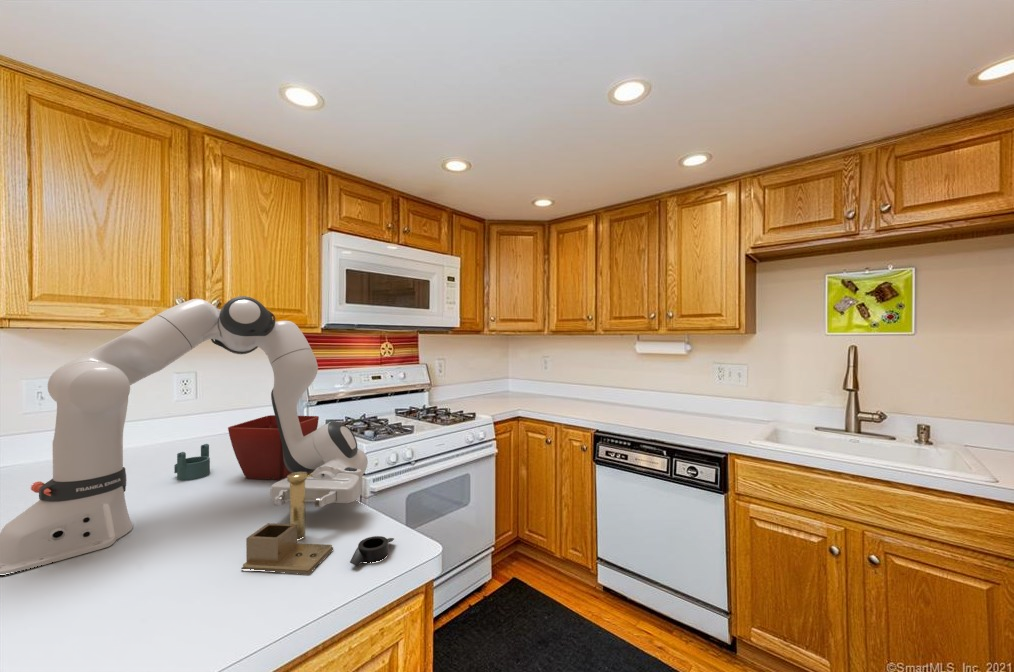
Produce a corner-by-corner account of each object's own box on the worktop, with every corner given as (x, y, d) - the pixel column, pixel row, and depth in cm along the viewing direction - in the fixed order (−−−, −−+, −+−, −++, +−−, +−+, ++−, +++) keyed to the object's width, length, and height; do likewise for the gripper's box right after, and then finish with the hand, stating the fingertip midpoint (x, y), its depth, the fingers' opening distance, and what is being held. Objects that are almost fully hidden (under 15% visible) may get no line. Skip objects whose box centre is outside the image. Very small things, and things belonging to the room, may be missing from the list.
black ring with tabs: (343, 555, 86) (343, 541, 86) (392, 542, 92) (392, 529, 92) (351, 573, 80) (351, 558, 80) (403, 559, 85) (403, 544, 85)
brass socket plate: (309, 574, 79) (309, 544, 79) (241, 571, 80) (241, 541, 80) (333, 550, 88) (333, 523, 88) (271, 547, 89) (271, 520, 89)
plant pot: (226, 482, 128) (225, 426, 128) (269, 462, 147) (269, 414, 147) (283, 485, 125) (283, 428, 125) (320, 465, 144) (320, 416, 144)
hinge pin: (294, 543, 91) (294, 479, 90) (283, 539, 93) (283, 475, 92) (311, 536, 94) (311, 473, 94) (300, 531, 96) (300, 470, 96)
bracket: (209, 470, 139) (209, 443, 139) (210, 477, 132) (209, 449, 132) (175, 475, 134) (174, 447, 134) (173, 483, 127) (173, 454, 127)
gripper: (290, 467, 108) (253, 487, 94) (367, 469, 106) (341, 490, 93) (290, 491, 108) (253, 515, 94) (367, 494, 106) (341, 518, 93)
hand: (297, 502), depth 93 cm, fingers open, 8 cm apart
